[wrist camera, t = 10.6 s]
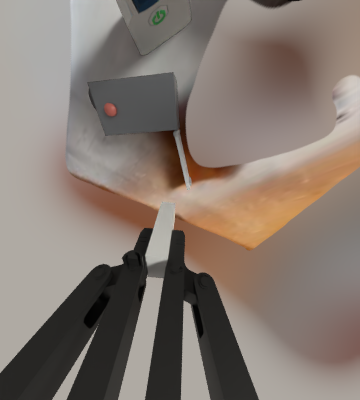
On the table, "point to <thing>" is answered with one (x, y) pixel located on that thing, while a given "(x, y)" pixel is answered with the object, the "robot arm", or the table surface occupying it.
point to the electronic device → (154, 20)
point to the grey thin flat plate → (182, 158)
